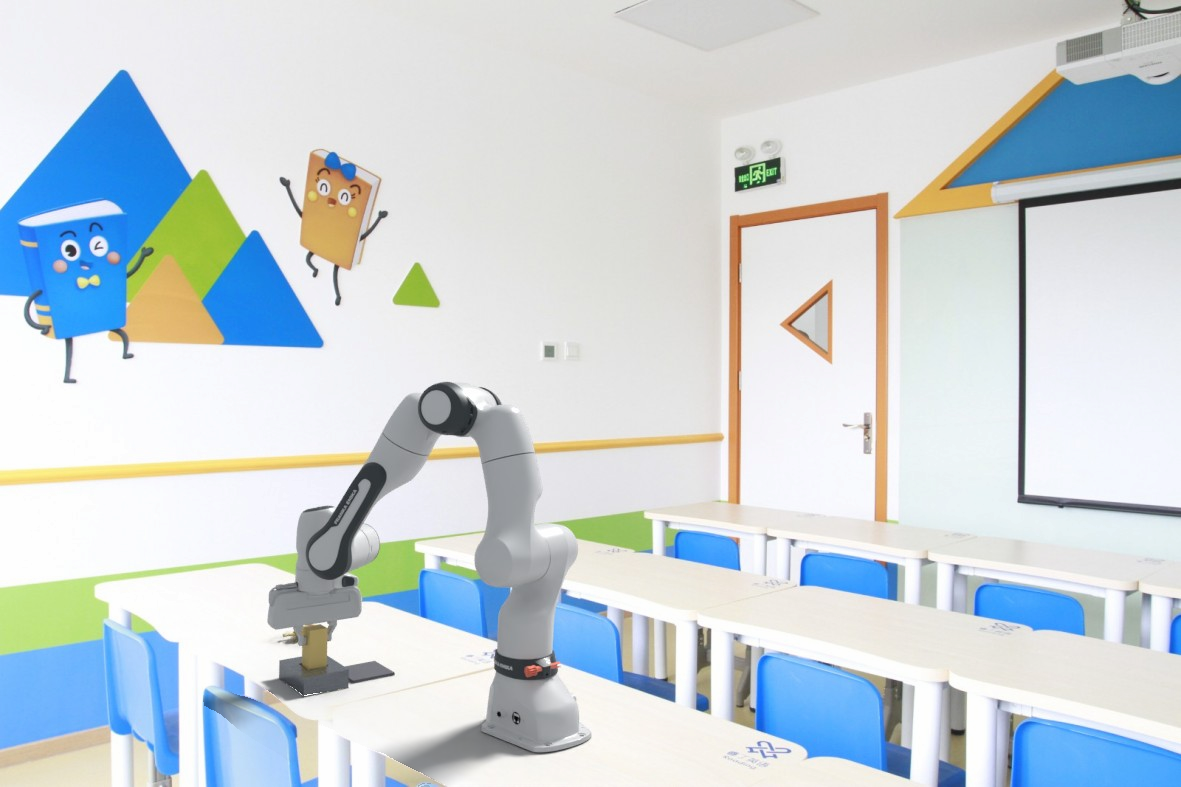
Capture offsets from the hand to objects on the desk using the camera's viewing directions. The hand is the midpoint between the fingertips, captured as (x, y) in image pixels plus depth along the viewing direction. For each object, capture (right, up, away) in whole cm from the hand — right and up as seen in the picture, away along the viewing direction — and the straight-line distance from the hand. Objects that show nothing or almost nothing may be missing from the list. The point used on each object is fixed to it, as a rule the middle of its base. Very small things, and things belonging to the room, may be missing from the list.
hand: (314, 642), depth 197 cm
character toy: (-14, -9, +31) cm, 35 cm away
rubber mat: (+9, -9, +8) cm, 15 cm away
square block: (0, -7, 0) cm, 7 cm away
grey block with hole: (0, -9, 0) cm, 9 cm away
